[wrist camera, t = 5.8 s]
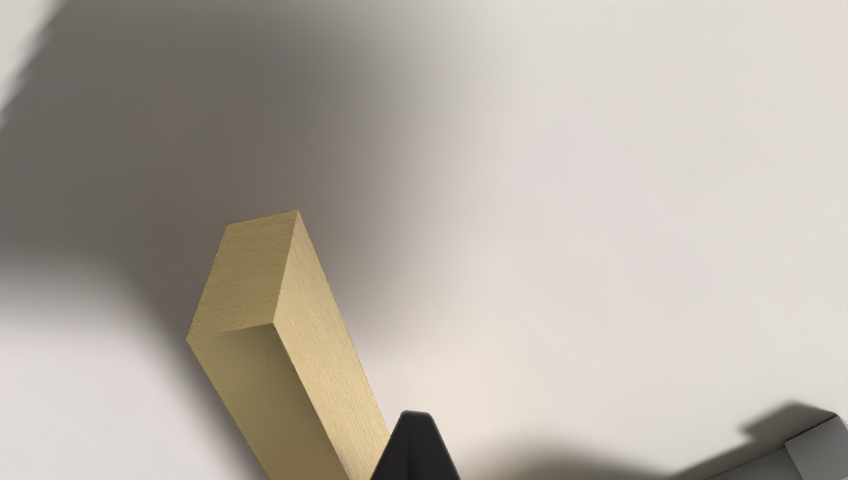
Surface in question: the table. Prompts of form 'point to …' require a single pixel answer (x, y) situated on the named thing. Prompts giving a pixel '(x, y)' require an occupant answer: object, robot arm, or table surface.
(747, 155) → the table surface
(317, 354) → the clip
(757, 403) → the table surface
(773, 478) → the plug
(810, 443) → the socket
